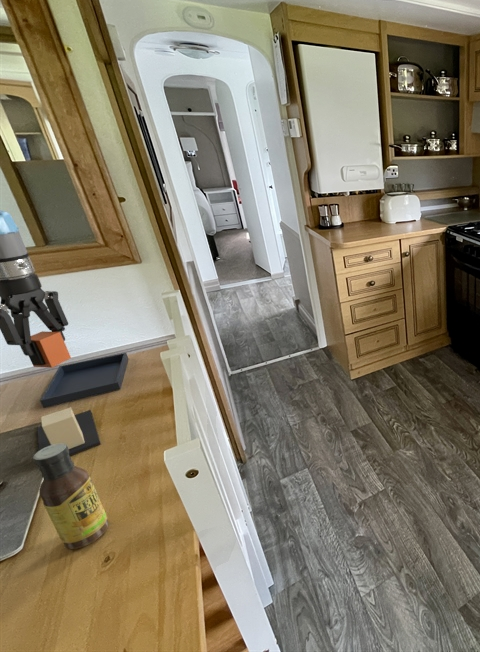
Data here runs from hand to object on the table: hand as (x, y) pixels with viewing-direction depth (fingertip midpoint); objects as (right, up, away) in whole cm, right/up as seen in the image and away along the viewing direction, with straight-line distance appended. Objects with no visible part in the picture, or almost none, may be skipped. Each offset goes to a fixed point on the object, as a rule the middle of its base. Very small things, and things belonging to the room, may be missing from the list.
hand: (51, 358), depth 100 cm
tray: (-5, -10, +16) cm, 19 cm away
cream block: (+15, -19, -9) cm, 26 cm away
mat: (+11, -19, -6) cm, 23 cm away
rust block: (0, -1, 0) cm, 1 cm away
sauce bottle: (+40, -29, -30) cm, 58 cm away
